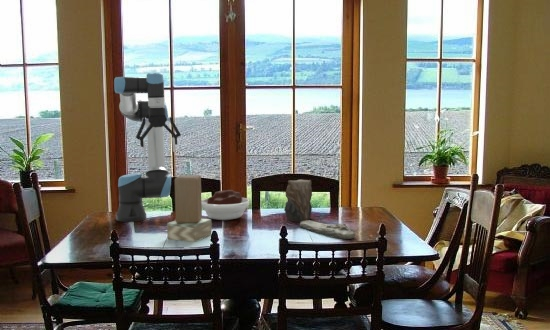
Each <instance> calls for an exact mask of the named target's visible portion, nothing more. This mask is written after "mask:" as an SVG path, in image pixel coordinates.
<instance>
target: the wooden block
mask: <svg viewBox="0 0 550 330" xmlns="http://www.w3.org/2000/svg"><path fill="white" fill-rule="evenodd" d="M201 200H202V177H201V175H199V174H197V175H195V174H194V175H193V174H191V175H190V174H189V175H187V174H186V175H184V174H183V175H182V174H181V175H179V176H177V177H175V178H174V204H175V205H174V206H175V209H174V210H175V211H174V213H175V220H176V223H198V222H199V221H200V220H201V219H203V218H202V217H203V212H202V211H203V208H202V202H201Z"/></svg>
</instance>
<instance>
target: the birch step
mask: <svg viewBox="0 0 550 330" xmlns="http://www.w3.org/2000/svg"><path fill="white" fill-rule="evenodd" d="M166 229H167V234H166V235H167V240H172V241H183V240H184V242H185V241H186V242H193V243H194V242H198V241H200V240H203V239H205V238H207V237H209V236H211V233H212V230H213V229H212V219H211V218H201V220H200V221H199V222H198V223H176V219H175V220H173V221H169V222H167V223H166Z"/></svg>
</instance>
